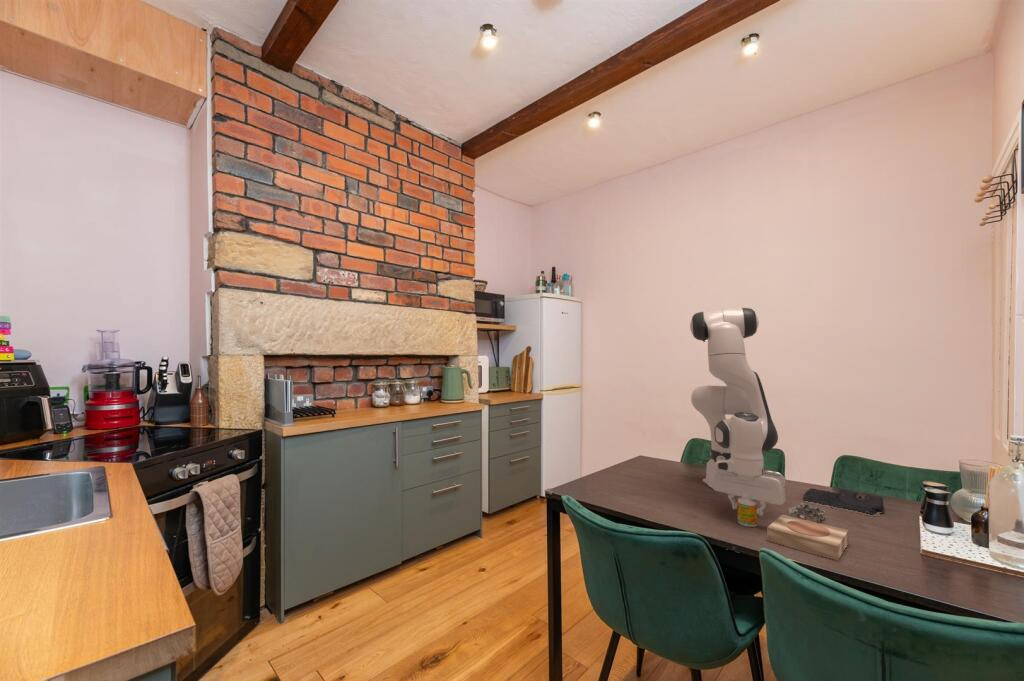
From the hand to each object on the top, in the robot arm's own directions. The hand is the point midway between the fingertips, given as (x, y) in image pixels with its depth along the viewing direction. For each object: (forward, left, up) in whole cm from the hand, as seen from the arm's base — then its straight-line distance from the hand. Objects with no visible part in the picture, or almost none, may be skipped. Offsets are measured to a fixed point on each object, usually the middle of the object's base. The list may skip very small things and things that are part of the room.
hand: (747, 511), depth 133 cm
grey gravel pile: (-18, +12, -4) cm, 22 cm away
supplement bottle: (0, 0, -4) cm, 4 cm away
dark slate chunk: (-42, +17, -4) cm, 45 cm away
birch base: (+2, +16, -4) cm, 17 cm away
